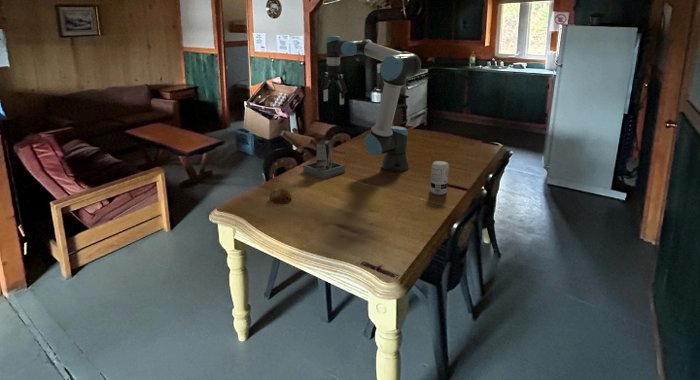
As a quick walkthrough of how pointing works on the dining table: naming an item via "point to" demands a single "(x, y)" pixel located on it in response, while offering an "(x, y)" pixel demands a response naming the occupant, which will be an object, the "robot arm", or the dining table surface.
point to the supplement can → (439, 177)
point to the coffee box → (324, 155)
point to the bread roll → (280, 196)
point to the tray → (313, 171)
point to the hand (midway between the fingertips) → (333, 102)
